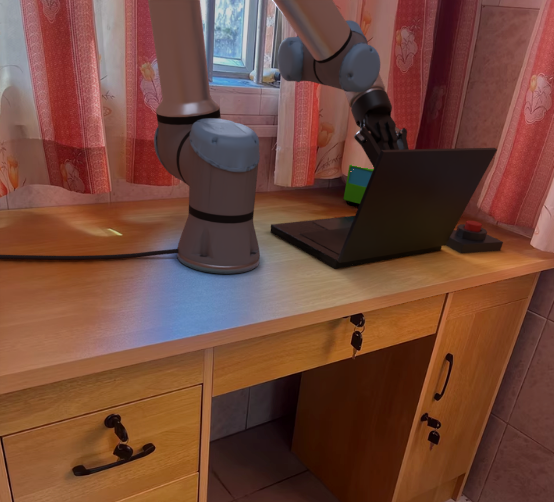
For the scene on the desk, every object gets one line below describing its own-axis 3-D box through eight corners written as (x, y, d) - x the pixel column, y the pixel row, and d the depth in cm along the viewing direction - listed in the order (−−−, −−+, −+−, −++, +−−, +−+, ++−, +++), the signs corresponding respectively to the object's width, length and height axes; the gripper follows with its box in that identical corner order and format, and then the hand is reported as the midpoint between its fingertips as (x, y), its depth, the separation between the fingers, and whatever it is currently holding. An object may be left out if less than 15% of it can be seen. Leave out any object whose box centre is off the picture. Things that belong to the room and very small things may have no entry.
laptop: (270, 232, 122) (271, 223, 121) (372, 220, 139) (373, 213, 138) (335, 269, 107) (336, 259, 106) (440, 251, 124) (442, 242, 123)
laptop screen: (380, 149, 92) (384, 152, 91) (494, 147, 108) (497, 149, 108) (336, 260, 106) (339, 263, 106) (442, 243, 123) (445, 245, 123)
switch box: (460, 253, 124) (465, 236, 122) (434, 240, 131) (439, 223, 129) (500, 251, 129) (505, 234, 127) (473, 237, 136) (478, 221, 134)
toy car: (392, 203, 156) (400, 166, 151) (374, 212, 146) (382, 172, 140) (358, 194, 160) (365, 158, 154) (339, 203, 150) (345, 164, 144)
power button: (471, 233, 126) (473, 225, 125) (460, 228, 129) (462, 220, 128) (483, 232, 127) (485, 225, 126) (472, 227, 130) (474, 220, 129)
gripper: (378, 112, 118) (418, 214, 116) (332, 111, 111) (373, 220, 109) (403, 88, 112) (445, 196, 110) (355, 85, 105) (400, 200, 102)
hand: (409, 208), depth 109 cm, fingers closed
